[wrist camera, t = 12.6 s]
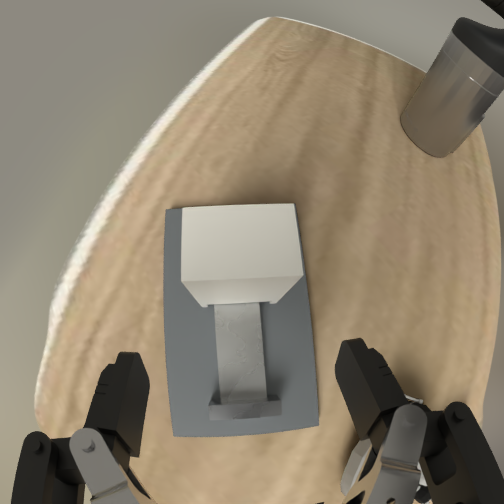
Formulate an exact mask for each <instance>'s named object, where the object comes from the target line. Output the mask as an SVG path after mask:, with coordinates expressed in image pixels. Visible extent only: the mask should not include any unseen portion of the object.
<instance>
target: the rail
mask: <svg viewBox="0 0 504 504" xmlns="http://www.w3.org/2000/svg"><path fill="white" fill-rule="evenodd" d="M214 314H215V331H216V346H217V360H218V373H219V385H220V397H221V399H211V400H210V402H209V405H208V409H209V418H210V420H235V419H249V418H261V417H270V416H279V415H282V406H281V400H280V398H279V397H278V396H277V395H268V396H267V392H266V379H265V367H264V354H263V342H262V330H261V318H260V305H259V302H251V303H232V304H214Z"/></svg>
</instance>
